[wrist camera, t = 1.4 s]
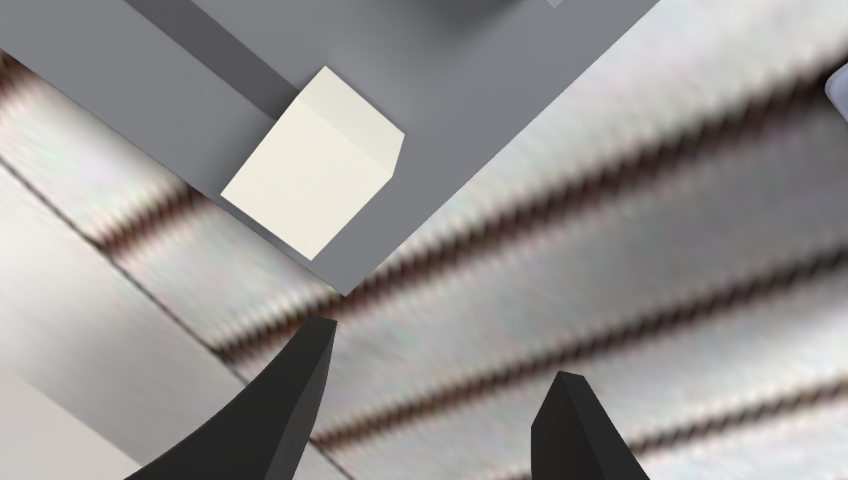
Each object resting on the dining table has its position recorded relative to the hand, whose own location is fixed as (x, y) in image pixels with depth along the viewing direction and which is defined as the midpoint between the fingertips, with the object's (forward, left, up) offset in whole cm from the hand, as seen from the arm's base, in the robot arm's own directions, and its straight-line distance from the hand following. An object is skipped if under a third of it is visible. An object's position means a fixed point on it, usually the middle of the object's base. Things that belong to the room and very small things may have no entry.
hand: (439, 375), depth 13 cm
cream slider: (+5, 0, -6) cm, 8 cm away
